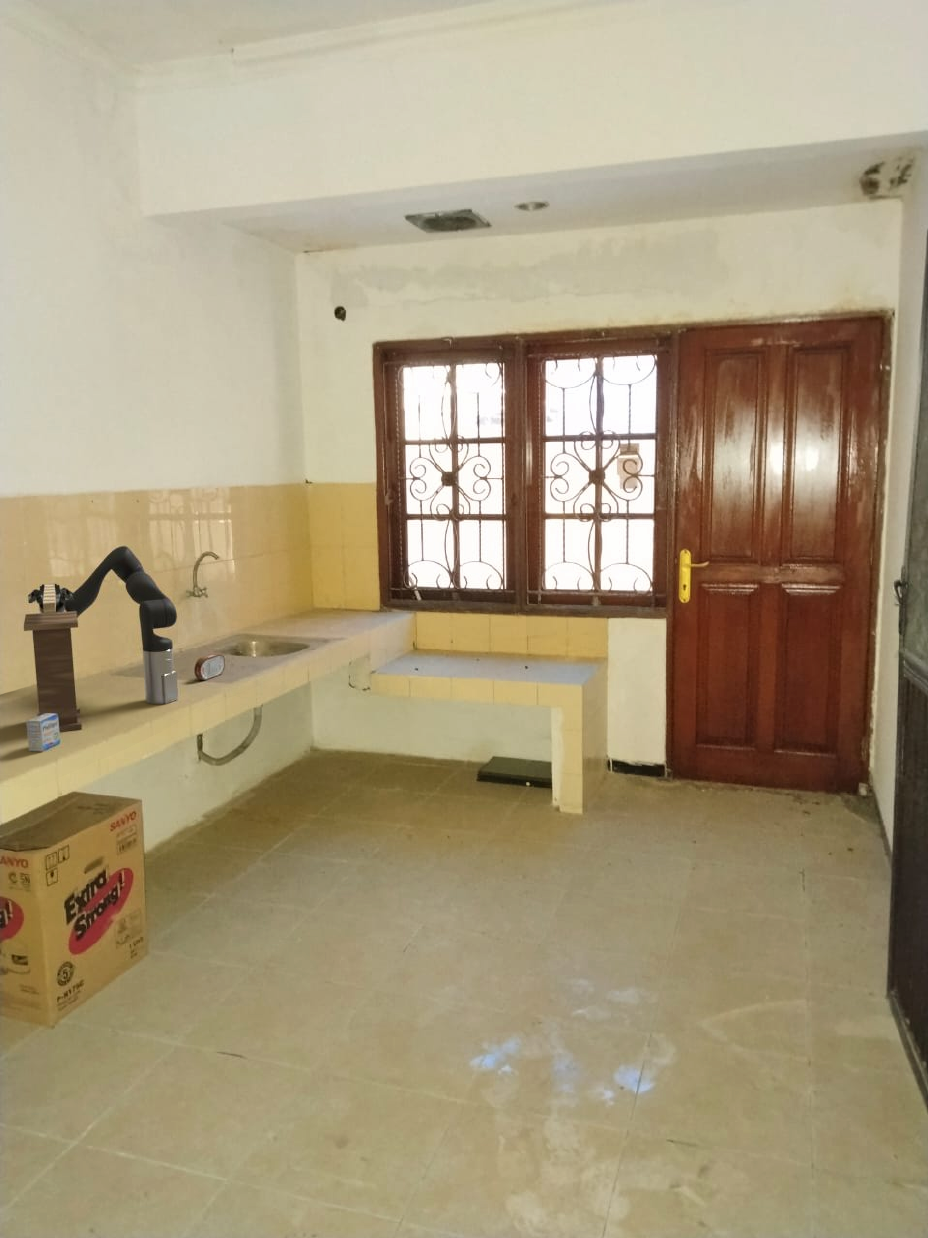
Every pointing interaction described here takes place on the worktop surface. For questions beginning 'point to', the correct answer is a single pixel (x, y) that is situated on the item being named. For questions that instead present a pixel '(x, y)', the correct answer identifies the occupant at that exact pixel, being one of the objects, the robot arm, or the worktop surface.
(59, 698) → the stand
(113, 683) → the worktop surface
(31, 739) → the medicine box
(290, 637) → the worktop surface
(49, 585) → the bar
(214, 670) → the tin
